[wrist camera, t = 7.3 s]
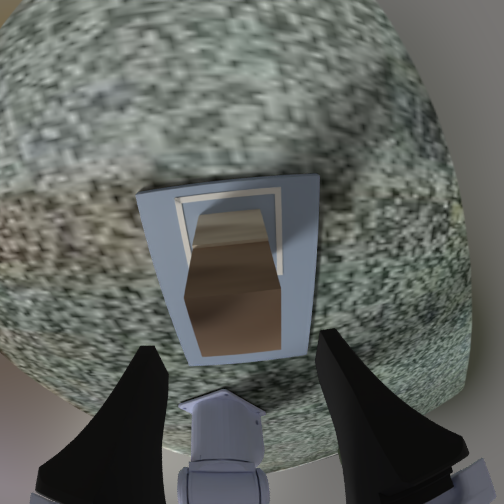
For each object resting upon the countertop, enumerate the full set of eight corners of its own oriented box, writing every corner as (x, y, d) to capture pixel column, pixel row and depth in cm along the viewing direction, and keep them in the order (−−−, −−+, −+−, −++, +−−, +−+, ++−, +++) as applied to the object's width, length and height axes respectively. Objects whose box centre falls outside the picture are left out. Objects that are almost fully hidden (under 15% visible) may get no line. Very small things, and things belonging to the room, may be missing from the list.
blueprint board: (305, 350, 27) (307, 355, 26) (189, 361, 26) (189, 366, 26) (317, 173, 17) (320, 176, 17) (138, 192, 17) (135, 195, 16)
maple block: (263, 260, 20) (270, 296, 16) (207, 265, 20) (204, 302, 16) (260, 208, 18) (268, 237, 14) (198, 215, 18) (192, 245, 14)
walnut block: (270, 298, 17) (281, 349, 13) (205, 305, 16) (202, 357, 13) (268, 240, 14) (281, 288, 11) (192, 248, 14) (183, 298, 11)
